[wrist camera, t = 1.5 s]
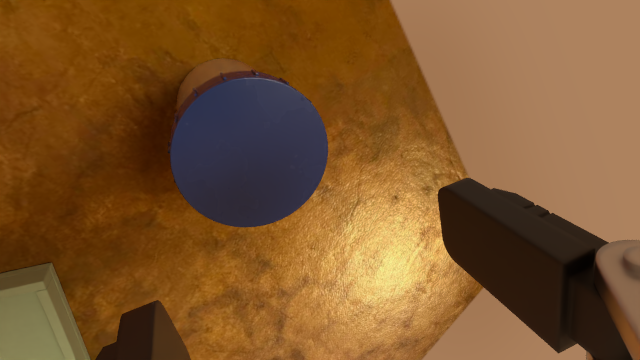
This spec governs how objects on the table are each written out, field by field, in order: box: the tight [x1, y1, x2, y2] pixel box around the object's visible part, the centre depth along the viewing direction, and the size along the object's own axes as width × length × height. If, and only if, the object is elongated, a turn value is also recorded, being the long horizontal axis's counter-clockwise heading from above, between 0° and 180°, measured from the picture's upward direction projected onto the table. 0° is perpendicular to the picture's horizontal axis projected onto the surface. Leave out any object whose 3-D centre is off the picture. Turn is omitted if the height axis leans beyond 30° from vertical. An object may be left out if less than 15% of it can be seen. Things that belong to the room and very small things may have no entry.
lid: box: [168, 69, 328, 227], centre depth 18 cm, size 7×7×2 cm
